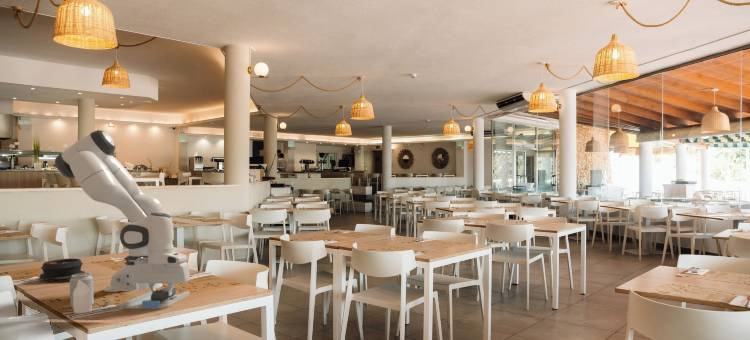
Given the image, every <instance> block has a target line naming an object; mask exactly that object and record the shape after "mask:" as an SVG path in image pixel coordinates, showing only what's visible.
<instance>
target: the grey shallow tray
mask: <svg viewBox="0 0 750 340" xmlns="http://www.w3.org/2000/svg"><path fill="white" fill-rule="evenodd" d="M151 295H152V291H151V290H150V291H149V292H146V293H144V294H142V295H139V296H137V297H135V298H132V299H130V300H127V301H124V302H123V303H120V304H119V305H118V306H119V307H118V308H119V309H144V310H145V309H147V310H148V309H150V310H151V309H154V310H155V309H156V310H158V309H161V310H162V309H164V308H167V307H168V306H170V305H173V304H174V303H176V302H178V301H180V300H182V299H185V298H186V297H189V296H190V295H191V292H190V291H188V290H187V291H184V292H182V293H180V294H178V293H177V294H176V293H175V295H174V296H172V297H170V298H168V299H165V300H163V301H161V302H160V301H152V300H151Z"/></svg>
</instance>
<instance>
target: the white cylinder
mask: <svg viewBox="0 0 750 340" xmlns="http://www.w3.org/2000/svg"><path fill="white" fill-rule="evenodd" d="M72 309H73V313H74V314H83V313H85V314H86V313H89V312H92V311H93V304H92V297H91V290H90V289H89V287H88V286H87V285H86V284H85V283H83V282H82V281H80V280H78V283H77V286H76V289H75V290H74V292H73V308H72Z"/></svg>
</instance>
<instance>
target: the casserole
mask: <svg viewBox="0 0 750 340" xmlns="http://www.w3.org/2000/svg"><path fill="white" fill-rule="evenodd" d="M83 264H84V263H83V262H82V260H81V259H80V258H62V259H61V258H60V259H55V260H49V261H44V262H43V263H42V266H41V267H40V269H41V270H42V272H43V273H40V274H39V277H38V279H41V280H47V281H49V280H53V281H52V282H59V281H58V280H63V281H68V280H67V279H69V280H70V279H71V278H72V275H74V274H80V273H86V272H85V271H84V270H82V266H83Z"/></svg>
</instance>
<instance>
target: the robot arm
mask: <svg viewBox="0 0 750 340" xmlns="http://www.w3.org/2000/svg"><path fill="white" fill-rule="evenodd" d="M115 150H116V144H115V141H114V139H113V137H112V136H111V135H110V134H108V133H107V132H106V131H104V130H99V129H97V130H94V131H92V132H90V134H88V135H86V136H83V137H82V138H80V139H78V140H77V141H75V142H74V144H72V145H70V146H69V147H68V148H66V149H65V150H64V151H63V152H60V153H59V154H58V155H57V156H56V157H55V159H54V165H55V167H56V169H57V171H58V172H59V173H60V174H61V175H63V176H64V177H65V178H68V179H75V180H76V182H77V183H78V185H79V186H80V188H81V189H82V190H83V192H84V193H85V194H86V195H87V196H88V197H89V198H90V199H92V200H93V201H95V202H97V203H103V204H107V205H110V206H113V207H114V208H116V209H118V210H119V211H120V212H121V213H123V215H124V216H125V217H126V219H127V220H128V221H129V222H130V223H129V224H126V225H124V226H123V227H122V229H121V230H120V233H119V240H120V243H121V244H122V246H123V247H124V248H125V249H128V255H127V256H126V257H123V262H125V264H124V265H123V266H122V267H120V269H118V270H117V271H116V272H115V273H113V275H111V278H110V285H108V286H107V287H105V288H104V292H106V293H108V292H109V293H116V292H119V291H124V292H126V291H127V292H135V291H141V290H150V292H151V291H152V293H154V292H156V291H159V289H160V288H162V287H164V285H163V284H167V287H168V286H170V287H169V289H168V290H167V291H166V296H171V295H172V290H173V288H175V285H176V284H186V283H188V282H189V280H190V278H191V276H190V275H191V273H190V266H189V263H188V262H186V261H188V255H186V254H184V253H181V252H178V251H175V246H174V244H173V241H174V224H173V219H172V217H171V216H170V215H169V214H168V213H164V212H163V205H162V203H161V202H160V201H159V199H157V198H156V197H154V196H151V195H147V194H145V193H144V192H143V191H142V190H141V188H140V186H139V185H138V183H137V180H136V179H135V178H134V177H133V176H132V175H131V173H130V172H129V171H128V170H127V169H126V168H125V166H124V165H123V164H122V163H121V162H120V161H119V160H118V159H117V158H116V157H115V156H113V155H114V152H115Z"/></svg>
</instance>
